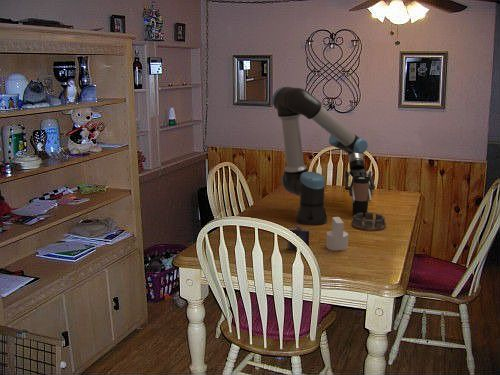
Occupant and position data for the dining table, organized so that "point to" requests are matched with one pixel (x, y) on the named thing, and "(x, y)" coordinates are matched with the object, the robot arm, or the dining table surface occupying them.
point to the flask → (301, 233)
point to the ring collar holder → (368, 222)
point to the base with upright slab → (337, 236)
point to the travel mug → (361, 195)
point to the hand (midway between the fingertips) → (362, 201)
